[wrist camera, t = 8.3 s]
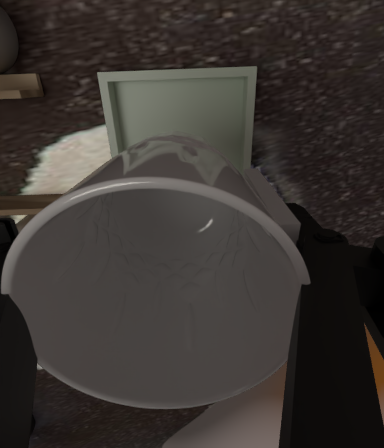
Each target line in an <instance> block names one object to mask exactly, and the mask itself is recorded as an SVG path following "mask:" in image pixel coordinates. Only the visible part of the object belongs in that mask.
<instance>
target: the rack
mask: <svg viewBox="0 0 384 448" xmlns="http://www.w3.org/2000/svg"><path fill="white" fill-rule="evenodd" d="M42 96H44V93H43V89H42V85H41V81H40V77H39V74H10V75H0V99H14V98H30V97H42ZM62 195H63V194H49V195H20V196H0V215H30V214H38V213H39V212H40V211H41V210H43V209H44V208H45V207H47V206H48V205H49V204H51V203H52V202H53V201H55V200H56V199H58V198H59V197H60V196H62Z"/></svg>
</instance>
